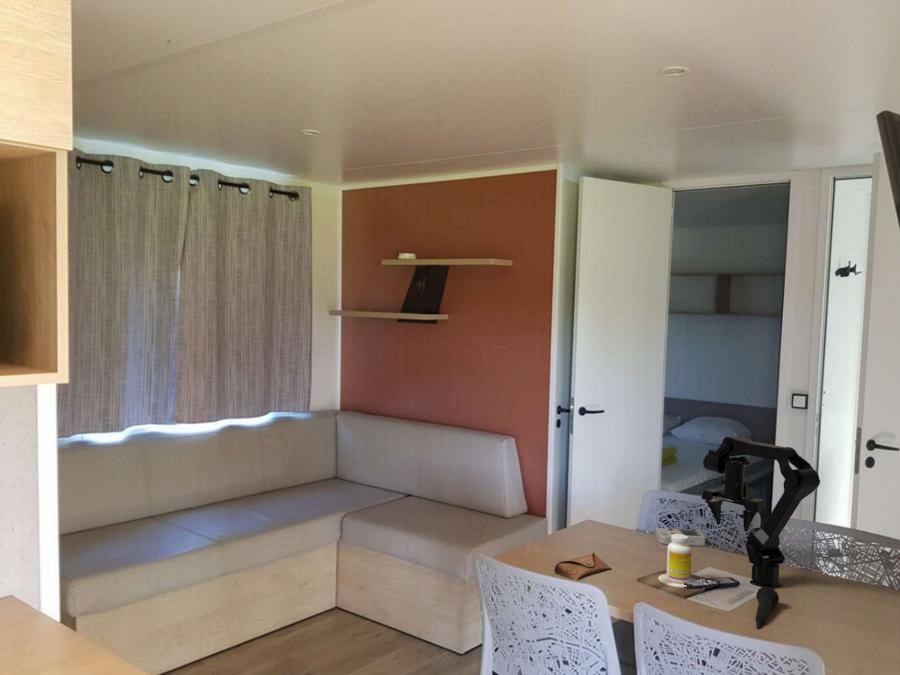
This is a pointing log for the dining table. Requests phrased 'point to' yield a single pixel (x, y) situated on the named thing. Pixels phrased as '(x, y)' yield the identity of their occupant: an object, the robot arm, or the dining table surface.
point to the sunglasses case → (581, 567)
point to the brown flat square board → (670, 584)
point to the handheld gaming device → (693, 535)
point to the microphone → (765, 604)
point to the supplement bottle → (679, 559)
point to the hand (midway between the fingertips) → (732, 527)
